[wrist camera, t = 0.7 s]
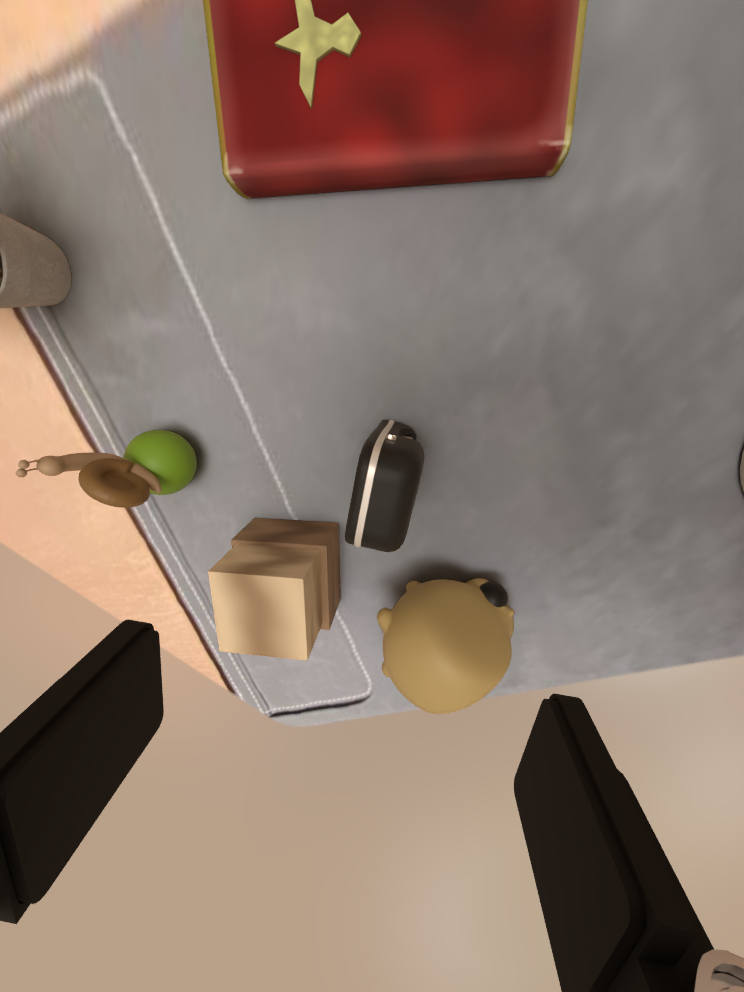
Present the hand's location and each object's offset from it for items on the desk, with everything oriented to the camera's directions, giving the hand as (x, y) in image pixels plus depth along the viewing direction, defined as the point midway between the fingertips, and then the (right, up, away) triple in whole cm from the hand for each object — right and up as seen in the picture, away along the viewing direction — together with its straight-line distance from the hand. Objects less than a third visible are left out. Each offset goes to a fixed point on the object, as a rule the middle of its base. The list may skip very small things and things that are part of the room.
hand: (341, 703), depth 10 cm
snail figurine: (-17, +9, +27) cm, 33 cm away
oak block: (-7, -2, +24) cm, 25 cm away
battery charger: (+3, +8, +24) cm, 26 cm away
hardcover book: (+2, +32, +16) cm, 36 cm away
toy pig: (+8, -5, +28) cm, 30 cm away
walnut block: (-6, -1, +29) cm, 29 cm away
